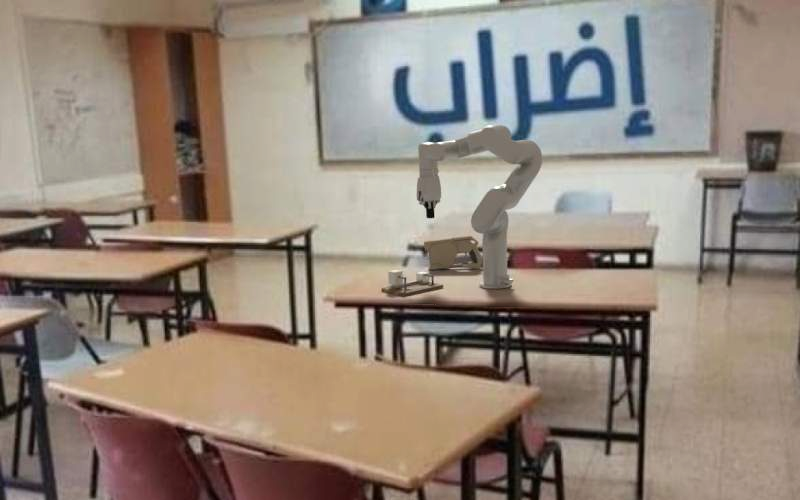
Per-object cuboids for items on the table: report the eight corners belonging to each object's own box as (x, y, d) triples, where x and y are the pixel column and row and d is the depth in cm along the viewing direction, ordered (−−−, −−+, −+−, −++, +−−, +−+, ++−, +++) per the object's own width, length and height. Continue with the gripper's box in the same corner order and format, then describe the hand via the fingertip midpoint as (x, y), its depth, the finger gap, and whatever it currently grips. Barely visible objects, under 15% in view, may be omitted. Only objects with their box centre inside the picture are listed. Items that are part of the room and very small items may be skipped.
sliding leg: (410, 288, 309) (409, 272, 308) (402, 289, 307) (401, 273, 306) (396, 285, 316) (396, 269, 315) (388, 286, 313) (388, 271, 312)
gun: (483, 267, 352) (479, 234, 349) (483, 269, 349) (479, 235, 346) (428, 273, 355) (424, 240, 352) (428, 275, 351) (423, 241, 349)
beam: (436, 283, 318) (436, 274, 317) (399, 291, 306) (399, 282, 306) (423, 280, 324) (423, 271, 324) (386, 288, 313) (386, 279, 312)
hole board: (443, 287, 315) (443, 284, 315) (403, 296, 303) (403, 293, 303) (420, 282, 326) (420, 279, 326) (381, 291, 314) (381, 287, 314)
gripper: (435, 171, 332) (437, 215, 335) (408, 174, 322) (410, 219, 325) (448, 172, 326) (449, 216, 329) (421, 175, 317) (423, 220, 320)
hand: (430, 217), depth 327 cm, fingers closed
